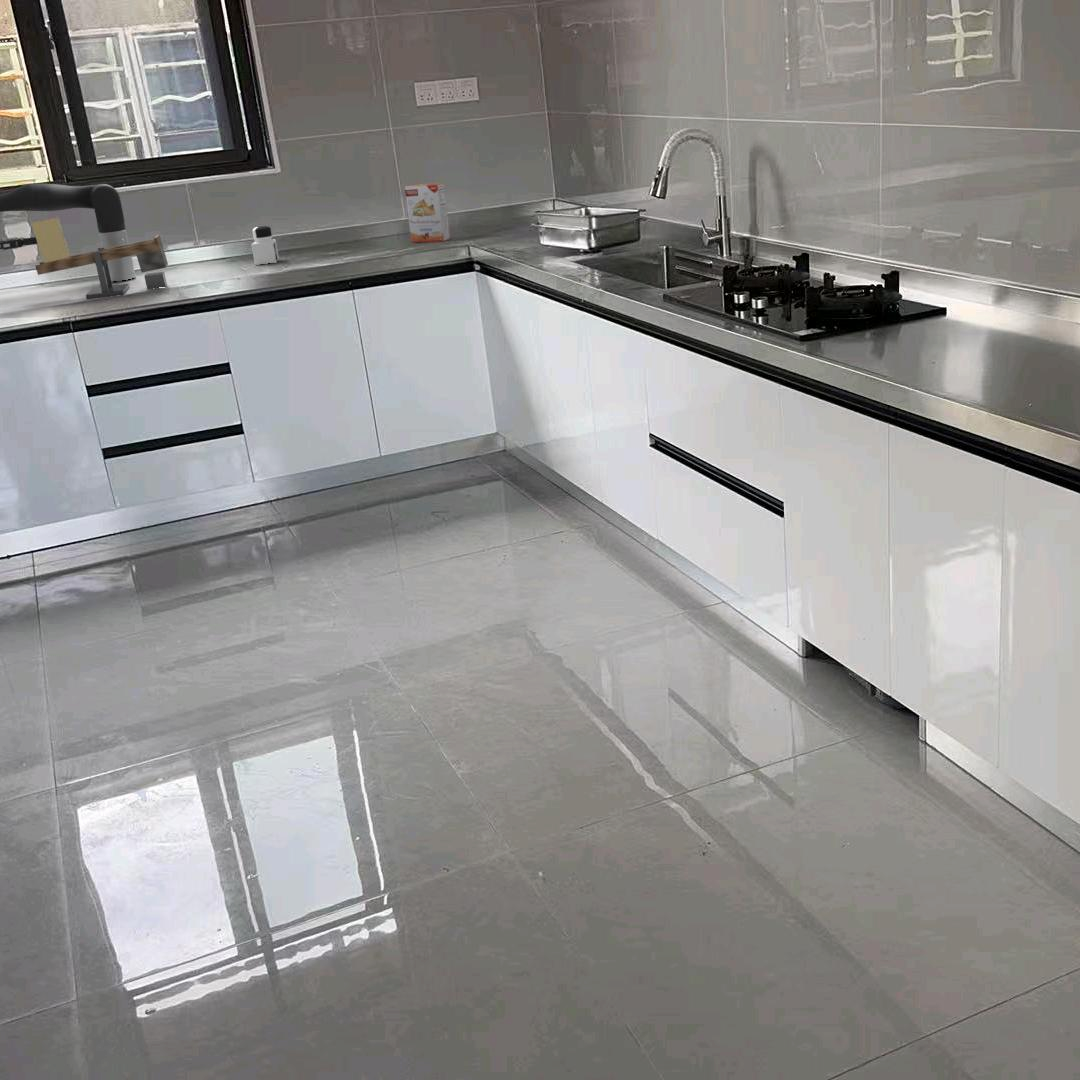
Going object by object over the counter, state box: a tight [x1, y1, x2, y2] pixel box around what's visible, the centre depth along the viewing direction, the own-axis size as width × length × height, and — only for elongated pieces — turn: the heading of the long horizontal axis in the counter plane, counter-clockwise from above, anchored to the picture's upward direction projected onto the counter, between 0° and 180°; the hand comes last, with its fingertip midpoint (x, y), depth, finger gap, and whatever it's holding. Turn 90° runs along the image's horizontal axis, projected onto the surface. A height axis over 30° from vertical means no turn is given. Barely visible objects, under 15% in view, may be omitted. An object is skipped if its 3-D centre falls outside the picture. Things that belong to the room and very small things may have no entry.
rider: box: [31, 216, 72, 264], centre depth 398 cm, size 8×5×14 cm, turn 103°
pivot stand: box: [85, 247, 168, 300], centre depth 405 cm, size 25×16×14 cm, turn 101°
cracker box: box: [404, 182, 451, 243], centre depth 454 cm, size 14×6×21 cm, turn 67°
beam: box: [35, 234, 169, 276], centre depth 403 cm, size 40×9×10 cm, turn 101°
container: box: [250, 225, 280, 266], centre depth 441 cm, size 8×8×13 cm
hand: (37, 240), depth 395 cm, fingers closed
